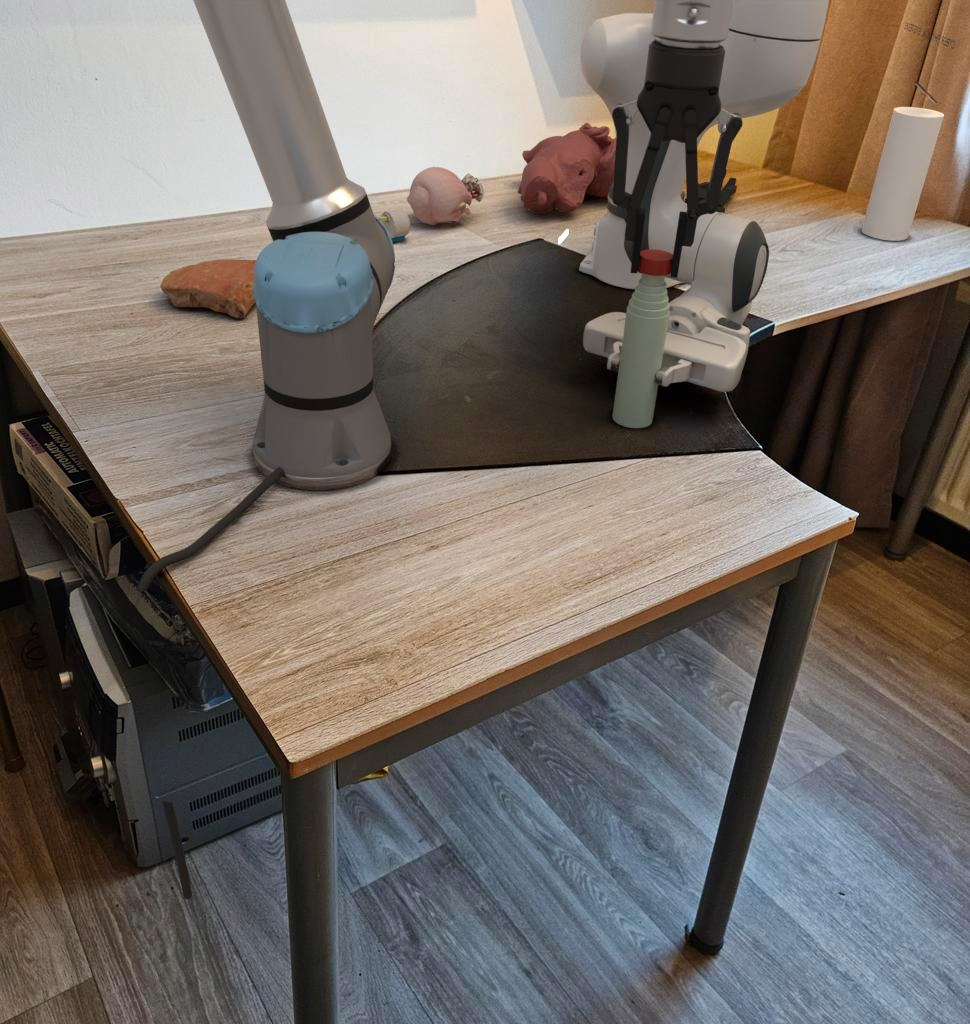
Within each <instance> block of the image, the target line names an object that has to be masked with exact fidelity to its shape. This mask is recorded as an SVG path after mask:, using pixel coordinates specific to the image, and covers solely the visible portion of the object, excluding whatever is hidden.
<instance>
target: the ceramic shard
mask: <svg viewBox="0 0 970 1024" xmlns="http://www.w3.org/2000/svg"><path fill="white" fill-rule="evenodd" d="M255 262H256V259H214V260H208V261H202V262H199V263H196V264H190V265H185V266H182V267H180V268H178V269H174V270H171V271H170V272H169V273H168V274H167V275H165V276H164V278H163V279H162V281H161V283H160V289H161V291H162V292H163V293H164V294H165V295H166V296H167V297H168V299H169V300H170V302H171V303H172V305H173V306H174V307H175V308H206V309H207V308H208V309H210V310H212V311H214V312H216V313H217V312H218V313H224V314H227V315H228V316H230V317H233V318H235V319H242V318H244V317H245V316H246V315H247V314H248V312H249V311H250V310H251V308H252V307H253V306H254V305H255V304H256V303H255V299H254V291H253V281H254V267H255Z"/></svg>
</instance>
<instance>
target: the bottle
mask: <svg viewBox="0 0 970 1024" xmlns="http://www.w3.org/2000/svg"><path fill="white" fill-rule="evenodd" d="M664 280H665V276H652V275H647V274H644V273H642V278H641V279H640V280H639V281H638V285H637V286H636V287H635V289H634V291H633V292H632V294H631V298H630V299H629V300H628V305H627V306H626V312H625V313H626V319H625V326H624V334H623V341H622V349H621V356H620V363H619V371H618V372H617V380H616V386H615V394H614V401H613V408H612V409H613V410H612V417H611V418H612V420H613V421H614V422H615V423H616V424H618V425H620V426H622V427H625V428H630V429H644V428H647V427H649V426H650V425H651V424H652V423H653V419H654V413H655V408H656V401H657V396H658V395H657V394H658V388H659V385H658V384H655V379H656V376H655V375H656V372H657V370H658V369H660V368H661V365H662V358H663V352H664V346H665V340H666V334H667V327H668V321H669V315H670V311H669V308H670V304H669V303H670V302H669V299H670V298H669V296H668V288H666V282H665V281H664Z"/></svg>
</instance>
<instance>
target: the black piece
mask: <svg viewBox="0 0 970 1024" xmlns="http://www.w3.org/2000/svg"><path fill="white" fill-rule="evenodd" d="M727 171H728V170H727V168H726V171H725V176H724V179H725V178H726V176H727ZM709 182H710V181H704V182H700V183H699V184H698V201H700V200H704V199H706V195H707V191H708V186H709ZM736 182H737V177H732V176H731V177H730V178H729V179H728V180H727V182H726V183H725V185H724V187H722V189H721V193H720V197H719V202H718V206H717V210H716V212H719V213H721V212H722V213H725V212H726V204H727V203H728V201H729V199H730V198H731V197H732V196H734V195H735V194H736V193H737V188H738V185H736ZM684 201H685V203H686V204H687V196H685V198H684Z"/></svg>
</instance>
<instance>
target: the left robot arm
mask: <svg viewBox="0 0 970 1024" xmlns="http://www.w3.org/2000/svg"><path fill="white" fill-rule="evenodd" d="M192 1H193V3H194V7H195V8H196V11H197V14H198V16H199V19H200V21H201V24H202V26H203V29H204V32H205V34H206V37H207V39H208V42H209V45H210V47H211V49H212V52H213V54H214V57H215V59H216V62H217V65H218V67H219V70H220V72H221V75H222V77H223V81H224V82H225V85H226V88H227V90H228V92H229V93H228V94H229V95H230V97H231V100H232V103H233V105H234V108H235V111H236V113H237V115H238V118H239V120H240V123H241V126H242V128H243V131H244V134H245V136H246V138H247V141H248V144H249V146H250V149H251V152H252V154H253V156H254V160H255V161H256V164H257V166H258V170H259V172H260V174H261V176H262V179H263V182H264V184H265V187H266V190H267V193H268V195H269V197H270V200H271V202H272V205H271V208H270V210H269V211H270V212H269V214H268V216H267V219H266V220H265V225H266V227H267V229H268V232H269V235H270V237H271V240H272V242H271V243H268V244H267V245H266V246H265V247H263V249H261V251H260V252H259V254H258V256H257V257H256V259H255V260H256V262H255V267H254V281H253V291H254V299H255V303H254V304H255V307H256V318H257V326H258V327H257V328H258V329H257V330H258V337H259V339H258V340H259V349H260V359H261V369H262V378H263V388H264V390H263V391H264V396H263V400H262V404H261V408H260V412H259V415H258V419H257V423H256V427H255V430H254V434H253V439H252V441H253V442H252V455H253V460H254V464H255V467H256V468H257V470H258V471H259V472H260V473H261V474H262V475H263V476H265V477H266V478H265V479H264V480H262V481H261V482H260V483H259V484H258V485H257V486H255V488H254V489H252V491H250V493H249V494H247V496H245V497H244V499H242V500H241V501H240V502H239V503H238V504H237V505H236V506H235V507H234V508H233V509H232V510H231V511H229V512H228V513H227V514H226V515H224V516H223V517H222V518H221V519H220V520H219V521H218V522H216V523H214V525H212V526H211V527H210V528H208V530H206V532H204V533H203V534H202V535H201V536H200V537H199V538H198V539H197V540H195V541H194V542H192V543H191V544H190V545H188V546H187V547H185V548H183V549H180V550H177V551H174V552H172V553H170V554H167V555H164V556H162V557H161V558H158V559H157V560H155V561H154V562H153V563H152V564H150V566H149V567H147V569H146V570H145V571H144V573H143V574H142V576H141V577H140V580H139V581H138V584H137V586H136V588H135V589H136V592H137V593H143V592H145V591H147V590H148V589H149V587H150V586H151V584H152V582H153V581H154V579H155V577H156V576H157V575H158V574H159V573H160V572H161V571H162V570H164V569H166V568H167V567H170V566H172V565H175V564H177V563H180V562H183V561H185V560H187V559H190V558H191V557H193V556H194V555H196V554H198V553H199V552H200V551H201V550H203V549H204V548H205V547H206V546H207V545H209V544H210V543H211V542H212V541H213V540H215V539H216V538H217V536H219V535H220V534H221V533H222V532H223V531H224V530H226V529H227V528H228V527H229V526H230V525H232V524H233V523H235V521H237V519H239V518H240V517H241V516H242V515H243V514H244V513H245V512H246V511H247V510H248V509H249V508H250V507H251V506H252V505H253V504H254V503H255V502H257V500H259V498H261V497H262V496H263V495H264V494H265V493H266V492H267V491H268V490H269V489H270V488H271V487H273V486H274V484H276V483H278V484H280V485H283V486H286V487H290V488H295V489H301V490H312V491H314V490H315V491H323V490H327V491H328V490H337V489H342V488H348V487H351V486H355V485H358V484H361V483H363V482H366V481H368V480H370V479H373V478H374V477H375V476H377V475H378V474H380V473H381V472H382V471H383V470H384V469H385V468H386V467H387V466H388V464H389V463H390V461H391V458H392V437H391V432H390V430H389V427H388V424H387V422H386V419H385V417H384V413H383V411H382V408H381V406H380V403H379V400H378V398H377V395H376V393H375V385H374V341H373V340H374V339H373V338H374V335H373V334H374V326H375V323H376V320H377V318H378V315H379V312H380V310H381V308H382V306H383V303H384V301H385V298H386V296H387V294H388V292H389V289H390V288H391V286H392V283H393V280H394V276H395V270H396V265H395V263H396V253H395V247H394V242H392V239H391V236H390V234H389V232H388V230H387V228H386V227H385V225H384V224H383V223H382V221H381V220H380V219H379V218H378V217H379V216H377V215H376V214H375V213H374V211H373V208H372V206H371V203H370V199H369V196H368V194H367V191H366V189H365V187H363V186H362V185H360V184H358V183H356V182H354V181H352V180H350V179H349V178H348V177H347V174H346V171H345V169H344V166H343V163H342V160H341V157H340V154H339V151H338V148H337V145H336V142H335V139H334V137H333V134H332V132H331V131H332V130H331V128H330V125H329V122H328V120H327V117H326V114H325V110H324V107H323V105H322V103H321V100H320V97H319V94H318V91H317V88H316V85H315V82H314V80H313V77H312V73H311V71H310V68H309V65H308V61H307V59H306V56H305V53H304V49H303V47H302V44H301V41H300V39H299V36H298V33H297V30H296V27H295V24H294V21H293V18H292V15H291V13H290V10H289V7H288V4H287V1H286V0H192ZM733 3H734V0H654V3H653V11H652V13H653V19H652V27H651V33H652V35H653V36H655V37H656V39H655V40H654V41H652V42H651V44H650V45H649V49H648V57H647V65H646V73H645V81H644V87H643V89H642V91H641V92H640V94H639V96H638V99H637V100H635V101H632V102H629V103H626V104H624V105H623V104H621V103H619V104H616V105H615V106H614V109H613V112H612V116H611V118H612V117H613V119H612V122H613V121H614V123H613V125H614V124H615V127H614V129H615V128H616V131H617V137H616V136H615V137H616V152H615V167H614V182H613V198H612V200H613V203H614V204H615V205H620V206H622V207H624V208H625V209H626V210H627V222H626V230H625V239H626V241H635V242H634V250H633V257H632V265H631V272H630V273H636V274H637V271H638V264H639V256H640V249H641V242H642V235H643V228H644V220H645V213H646V208H640V205H641V202H642V199H643V196H644V193H645V190H646V187H647V184H648V181H649V178H650V175H651V172H652V169H653V166H654V163H655V160H656V157H657V154H658V151H659V148H660V145H661V142H662V141H670V140H675V141H678V142H681V143H685V156H686V179H685V182H686V184H685V185H686V186H685V187H686V197H687V212H682V211H680V214H679V220H678V226H677V233H676V239H675V245H674V252H673V262H672V268H671V275H670V277H674V278H677V276H678V270H679V264H680V258H681V251H682V246H687V247H691V246H692V244H693V243H694V237H695V231H696V225H697V220H698V218H699V217H700V216H701V215H705V214H713V213H715V212H716V210H717V206H718V202H719V197H720V193H721V190H722V189H723V185H724V180H725V178H724V176H725V171H726V169H727V167H728V163H729V157H730V154H731V149H732V145H733V142H734V140H735V139H736V137H737V136H738V134H739V133H740V131H741V129H742V127H743V123H744V122H743V118H742V117H741V115H740V114H739V113H734V114H733V113H731V112H730V111H728V110H726V109H724V108H723V107H721V101H720V98H719V87H720V81H721V75H722V69H723V63H724V57H725V50H724V47H723V46H721V45H720V43H721V42H723V41H725V40H726V39H727V38H728V33H729V27H730V21H731V15H732V9H733ZM638 111H639V112H640V113H641V115H642V117H643V119H644V121H645V123H646V125H647V127H648V129H649V131H650V132H651V135H650V138H649V141H648V144H647V148H646V151H645V154H644V157H643V160H642V163H641V166H640V169H639V172H638V175H637V179H636V182H635V185H634V188H633V191H632V194H629V193H627V192H625V185H626V171H627V158H628V144H629V126H631V125H632V124H633V123H634V120H635V114H636V113H637V112H638ZM715 118H717V119H718V120H719V123H718V124H717V131H718V133H719V138H718V142H717V146H716V151H715V155H714V158H713V159H714V160H713V164H712V169H711V173H710V178H709V181H708V182H709V186H708V191H707V195H706V199H704V200H700V201H698V183H699V175H698V174H699V171H698V169H699V167H698V162H699V161H698V147H697V138H698V136H699V135H700V134H701V133H702V132H703V131H704V130H705V129H706V128H707V127H708V126H709V125H710V123H711V122H712V121H713V120H714V119H715ZM726 172H727V171H726ZM725 177H726V176H725ZM161 803H162V807H163V812H164V816H165V819H166V824H167V828H168V832H169V837H170V841H171V844H172V849H173V854H174V857H175V862H176V866H177V871H178V877H179V881H180V885H181V886H180V887H181V892H182V896H183V899H184V900H190V899H191V898H192V897H193V891H192V886H191V885H192V884H191V880H190V875H189V870H188V865H187V860H186V855H185V850H184V847H183V846H184V845H183V841H182V838H181V837H182V836H181V833H180V829H179V825H178V820H177V816H176V812H175V808H174V803H173V802H170V801H165V800H162V801H161Z"/></svg>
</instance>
